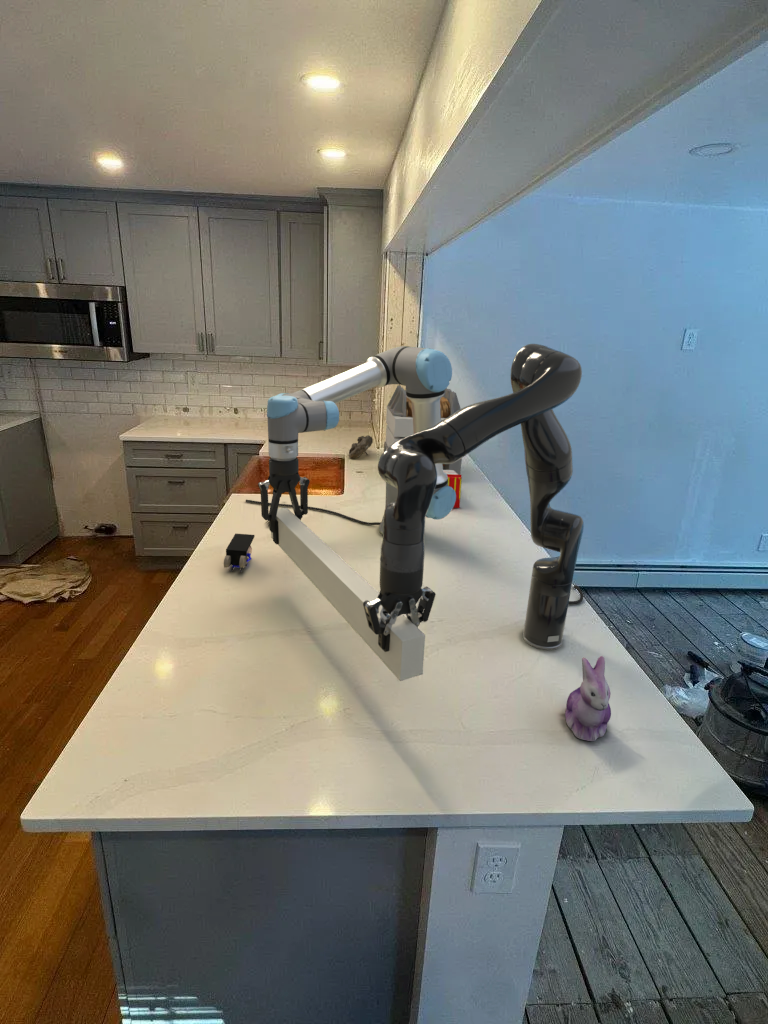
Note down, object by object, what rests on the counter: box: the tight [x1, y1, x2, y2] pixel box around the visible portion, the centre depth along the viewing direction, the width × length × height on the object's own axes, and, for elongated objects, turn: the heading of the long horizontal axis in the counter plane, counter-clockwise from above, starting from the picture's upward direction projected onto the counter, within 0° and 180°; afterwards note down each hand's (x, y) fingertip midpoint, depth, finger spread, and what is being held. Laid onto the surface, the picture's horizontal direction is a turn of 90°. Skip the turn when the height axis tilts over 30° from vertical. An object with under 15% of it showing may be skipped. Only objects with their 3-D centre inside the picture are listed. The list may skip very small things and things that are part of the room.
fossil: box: [348, 435, 374, 460], centre depth 302 cm, size 22×10×15 cm
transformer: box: [383, 384, 463, 475], centre depth 268 cm, size 34×33×41 cm
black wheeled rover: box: [223, 533, 255, 573], centre depth 170 cm, size 7×8×15 cm
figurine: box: [564, 655, 612, 742], centre depth 107 cm, size 9×10×15 cm
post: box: [270, 507, 426, 682], centre depth 128 cm, size 71×5×8 cm, turn 29°
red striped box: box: [443, 470, 463, 509], centre depth 239 cm, size 12×13×30 cm
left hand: (285, 540), depth 154 cm, fingers closed on post, 5 cm apart
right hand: (397, 645), depth 103 cm, fingers closed on post, 4 cm apart
